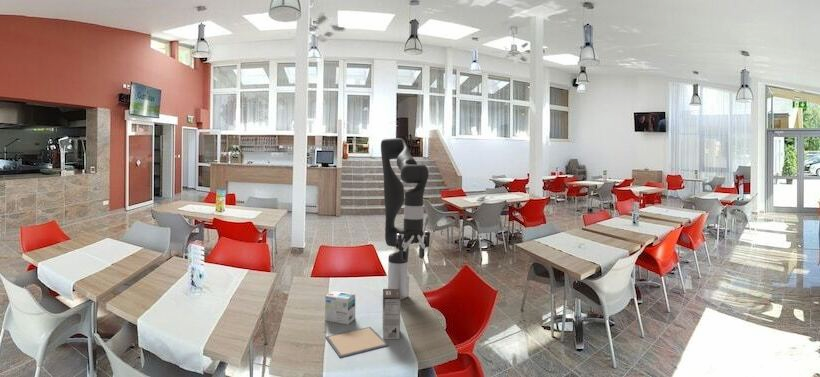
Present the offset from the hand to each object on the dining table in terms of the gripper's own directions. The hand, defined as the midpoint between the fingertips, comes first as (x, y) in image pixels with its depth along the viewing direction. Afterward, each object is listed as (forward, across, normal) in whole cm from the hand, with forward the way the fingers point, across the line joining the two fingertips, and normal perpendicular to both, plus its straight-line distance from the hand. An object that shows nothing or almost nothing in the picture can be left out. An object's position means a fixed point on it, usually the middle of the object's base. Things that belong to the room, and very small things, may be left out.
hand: (412, 259), depth 151 cm
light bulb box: (+28, +22, -20) cm, 41 cm away
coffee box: (+28, +9, 0) cm, 29 cm away
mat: (+28, +23, 0) cm, 36 cm away
